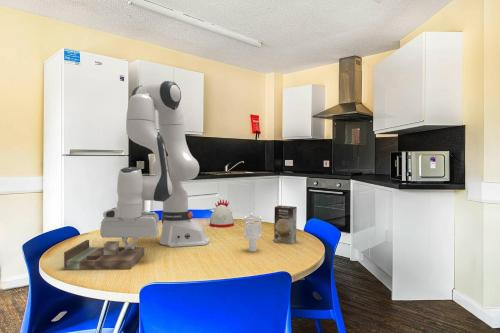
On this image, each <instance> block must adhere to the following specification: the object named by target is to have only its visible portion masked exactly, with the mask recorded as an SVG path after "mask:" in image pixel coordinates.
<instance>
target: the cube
mask: <svg viewBox="0 0 500 333" xmlns="http://www.w3.org/2000/svg"><path fill="white" fill-rule="evenodd" d="M103 247H104V255H116V254H117V253H118V252H119V247H120V241H119V240H113V241H112V240H109V241H106V242H104V243H103Z"/></svg>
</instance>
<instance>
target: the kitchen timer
mask: <svg viewBox="0 0 500 333" xmlns="http://www.w3.org/2000/svg"><path fill="white" fill-rule="evenodd" d="M216 202H217V203H214V205H215V208H214V209H213V211H212V213H211V216H210V218H209V226H210V227H211V228H219V229H220V228H222V229H223V228H224V229H225V228H231V227H234V226H235V220H234V216H233V211H231V210H230V208H229V207H228V206H229V204H230V201H228V200H227V199H225V201H224V199H220V200H219V201H216Z"/></svg>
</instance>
